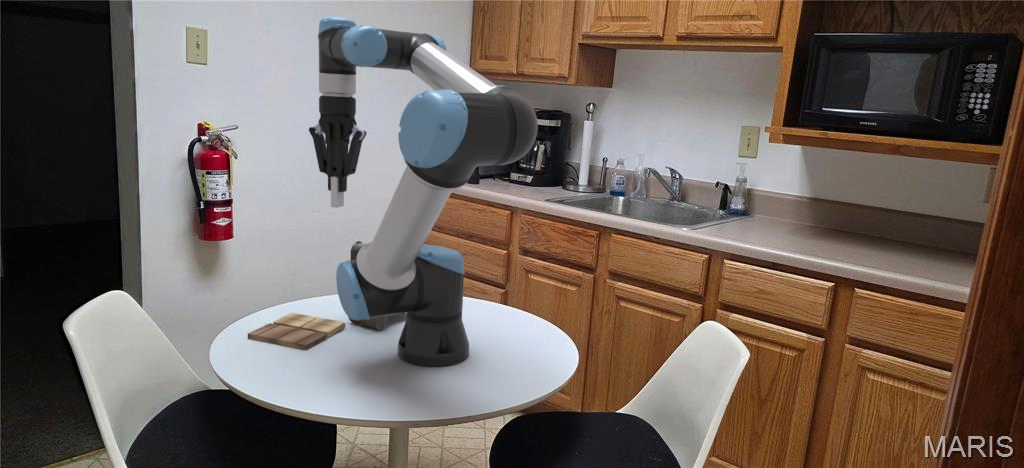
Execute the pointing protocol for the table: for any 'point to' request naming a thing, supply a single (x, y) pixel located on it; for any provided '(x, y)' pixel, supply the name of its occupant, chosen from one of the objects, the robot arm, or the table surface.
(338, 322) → the oak plank
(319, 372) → the table surface
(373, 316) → the robot arm
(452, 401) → the table surface
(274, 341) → the walnut row
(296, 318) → the oak plank
